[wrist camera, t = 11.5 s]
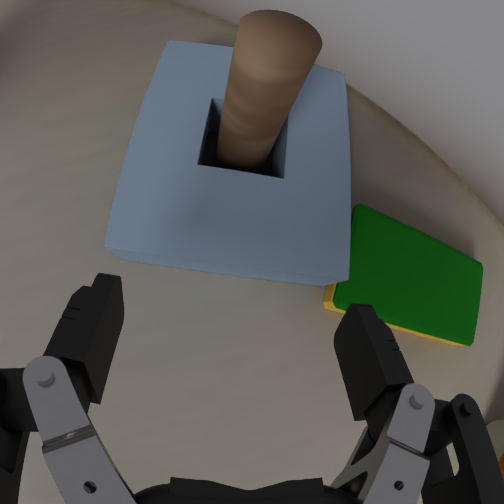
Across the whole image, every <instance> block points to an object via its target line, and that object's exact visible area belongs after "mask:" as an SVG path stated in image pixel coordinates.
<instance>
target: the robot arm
mask: <svg viewBox="0 0 504 504" xmlns="http://www.w3.org/2000/svg"><path fill="white" fill-rule="evenodd" d="M123 320H124V303H123V293H122V282H121V277H120V276H117V275H111V274H104V273H98V274H97V276H96V278H95V280H94V282H93V284H92V286H91V287H89V286H82V287H81V288H80V289H78V290H77V291H76V292H75V293H74V294H73V295H72V296H71V298H70V300H69V302H68V304H67V306H66V309H65V310H64V312H63V314H62V318H60V320H59V322H58V324H57V326H56V329H55V331H54V333H53V335H52V337H51V339H50V341H49V344H48V346H47V348H46V350H45V352H44V354H43V356H41V357H38V358H35V359H33V360H32V361H31V362H29V364H28V365H27V366H26V367H25V368H8V369H0V504H18V496H19V488H20V481H21V475H22V469H23V463H24V458H25V453H26V448H27V443H28V438H29V434H30V432H39V433H40V436H41V438H42V441H43V446H42V452H43V456H44V458H45V461H46V463H47V466H48V468H49V470H50V472H51V475H52V477H53V479H54V481H55V483H56V485H57V487H58V489H59V491H60V493H61V495H62V497H63V499H64V501H65V503H66V504H416V503H417V501H418V498H419V495H420V492H421V495H422V500H423V504H504V480H503V476H502V473H501V469H500V466H499V463H498V460H497V457H496V454H495V450H494V447H493V445H492V442H491V439H490V436H489V433H488V430H487V428H486V425H485V422H484V420H483V417H482V415H481V412H480V410H479V407H478V405H477V403H476V402H475V400H474V399H473V398H472V397H470V396H469V395H466V394H458V395H456V396H455V397H454V398H453V399H452V400H451V401H450V402H448V401H443V400H438V399H434V398H433V396H432V394H431V393H430V391H429V390H428V389H426V388H425V387H424V386H422V385H420V384H415V383H414V381H413V378H412V376H411V374H410V371H409V369H408V367H407V364H406V362H405V360H404V357H403V355H402V353H401V351H399V349H400V348H399V346H398V344H397V342H395V340H396V339H395V337H394V335H393V333H392V331H391V329H390V328H389V327H388V325H387V324H386V323H385V322H384V321H383V320H382V319H379V318H378V316H377V314H376V312H375V310H374V308H373V306H372V305H370V304H357V303H352V304H350V305H349V307H348V308H347V310H346V312H345V314H344V316H343V318H342V320H341V322H340V324H339V326H338V328H337V330H336V332H335V335H334V348H335V352H336V355H337V359H338V362H339V366H340V369H341V373H342V376H343V380H344V383H345V387H346V391H347V394H348V398H349V402H350V405H351V409H352V413H353V417H354V421H361V420H366V421H367V426H366V427H365V428H364V430H363V432H362V434H361V436H360V438H359V440H358V443H357V445H356V447H355V449H354V451H353V453H352V455H351V456H350V458H349V460H348V462H347V464H346V466H345V468H344V469H343V471H342V472H341V473H340V474H339V475H338V476H337V477H336V479H335V480H334V481H333V483H332V484H331V485H330V486H326V485H323V481H322V478H314V479H304V480H290V481H285V482H281V483H278V484H275V485H271V486H267V487H263V488H260V489H256V490H244V489H239V488H235V487H231V486H227V485H223V484H220V483H216V482H213V481H208V480H194V479H184V478H175V477H171V478H170V483H169V484H161V485H156V486H152V487H149V488H146V489H144V490H142V491H140V492H138V493H136V494H133V492H132V491H131V489H130V488H129V486H128V485H127V483H126V481H125V480H124V478H123V477H122V475H121V474H120V472H119V470H118V469H117V467H116V466H115V464H114V462H113V461H112V459H111V457H110V456H109V454H108V452H107V450H106V449H105V447H104V445H103V443H102V441H101V439H100V438H99V436H98V434H97V432H96V430H95V428H94V426H93V424H92V422H91V420H90V418H89V416H88V414H87V413H88V409H89V406H90V402H92V403H96V404H100V403H101V399H102V395H103V392H104V388H105V384H106V380H107V376H108V373H109V369H110V366H111V362H112V359H113V355H114V352H115V348H116V345H117V342H118V338H119V335H120V332H121V329H122V325H123ZM452 442H453V446H454V449H455V452H456V456H457V459H458V463H459V471H458V473H457V475H456V476H454V473H453V470H452V466H451V462H450V459H449V455H448V452H447V448H446V446H448V445H449V444H450V443H452Z"/></svg>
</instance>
